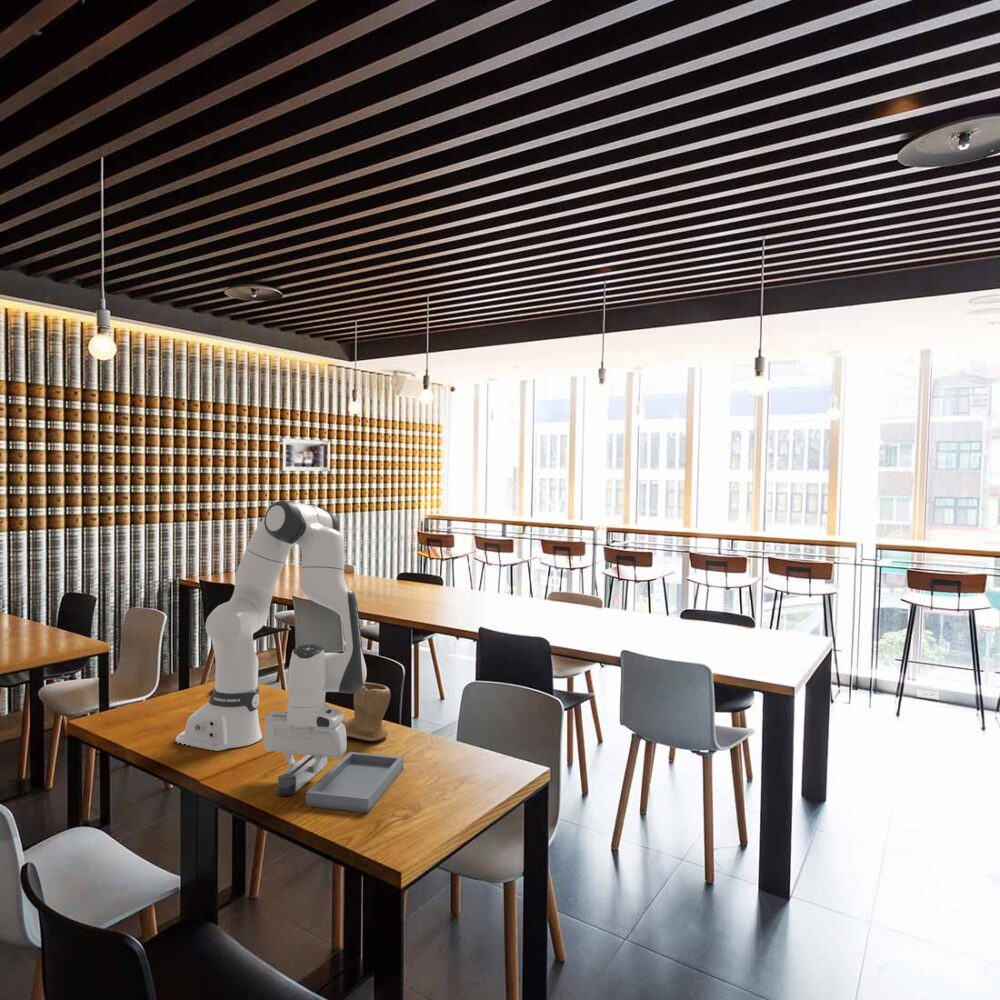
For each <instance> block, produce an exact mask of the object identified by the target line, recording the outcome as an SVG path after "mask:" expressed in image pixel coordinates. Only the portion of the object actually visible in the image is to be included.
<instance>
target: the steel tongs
mask: <svg viewBox="0 0 1000 1000" xmlns="http://www.w3.org/2000/svg"><path fill="white" fill-rule="evenodd" d="M328 758H329V757H324V756H323V758H322V760H321V762H320V763H319V765H318V772H317V773H316V774H315V773H310V766H311V765H312V764H315V762H316V760H315V759H314V755H304V756H303V757H302V758H301V759H300V760H298V761H296V762H297V763H296V764H295V765H293V766H292V767H291V768H290V769H289V768H288V769H287V770H286V771H285V772H283V773H282V774H281V775H279V776H278V778H277V795H278V796H280V797H290V796H294V795H295V794H296V793H297V792H298V791H299V790H300V789H302V788H303V787H304V786H305V785H306V784H307V783H308V782H309V781H311V780H312V778H314V777H315V776H316V775H317V774H318V773H319V772H320V771H321V770H323V769H324V768H325V767H326V766H327V765H328Z"/></svg>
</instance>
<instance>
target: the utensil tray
mask: <svg viewBox="0 0 1000 1000" xmlns="http://www.w3.org/2000/svg"><path fill="white" fill-rule="evenodd" d="M404 760H405V759H404V756H396V755H385V754H375V753H366V752H365V753H364V752H355V751H349V752H348V753H347V754H346V755H344V757H342V758H341V759H340V760H339V761H338V762H337V763H336V764H335V765H334V766H332V768H330V770H329V771H328V772H326V773H325V774H324V775H323V776H322V777H321V778H320V779H319V780H318V781H316V783H314V784H313V785H312V786H311V787H310V788H309V789H308V790H307V791H306V792H305V807H310V808H311V807H312V808H320V809H321V808H322V809H327V810H328V809H329V810H336V811H346V812H347V811H348V812H353V813H354V812H355V813H362V814H363V813H364V814H368V813H370V811H371V810H372V809H373V808H374V806H375V805H376V804H377V802H378V801H379V800H380V799H381V798H382V796H383V795H384V794H385V792H386V791H387V790H388V789H389V787H391V785H392V784H393V782H394V781H395V780H396V779H397V777H398V776H399V775H400V774H401V773H402V771H403V770H404V762H405V761H404Z"/></svg>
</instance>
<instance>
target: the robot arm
mask: <svg viewBox="0 0 1000 1000" xmlns="http://www.w3.org/2000/svg"><path fill="white" fill-rule="evenodd" d="M339 522H340V521H339V520H338V517H337V516H336V515H335V514H334V513H332V512H330V511H329V510H327V509H324V508H320V507H318V506H315V505H311V504H309V503H300V502H294V501H292V500H279V501H278V500H277V501H275V502H274V503H272V504H271V505H269V507H268V508H267V510H266V512H265V515H264V518H263V519H262V520H261V522H259V524H258V525H257V527H256V528H255V531H254V532H253V533H252V535H251V537H250V540H249V542H248V544H247V545H246V548H245V550H244V553H243V555H242V557H241V560H240V563H239V564H238V567H237V569H236V571H235V584H234V588H233V589H234V590H233V593H232V595H231V597H230V599H229V600H228V601H226V602H223V603H222V604H219V605H217V606H216V607H215V608H214V609H213V610H212V611H211V612H210V613H209V615H208V616H207V618H206V621H205V632H206V634H207V636H208V637H209V638H210V640H211V644H212V648H213V651H214V652H213V653H214V657H215V658H214V660H215V679H214V680H215V681H214V682H215V683H214V684H215V685H214V688H212V689H211V690H210V691H209V692H205V698H208V697H209V699H208V701H207V702H206V703H205V704H204V705H202V706H201V707H199V709H197V710H196V711H195V712H193V713H192V714H191V715H190V716H189V717H188V718H187V721H186V723H185V729H184V731H182V732H180V733H179V734H177V736H176V737H175V740H174V741H175V742H177V743H176V744H179V743H181V744H180V745H184V744H186V745H185V746H189V745H190V746H189V747H194V748H199V749H205V750H208V751H209V750H210V751H213V750H214V751H215V752H219V751H224V750H227V749H234V748H240V747H241V748H242V747H246V746H250V745H253V744H255V743H257V742H260V741H261V740H262V738H263V741H262V746H263V748H264V750H265V751H268V752H277V753H285V754H284V757H285V760H286V761H287V762H288V765H289V768H288V769H290V768H291V767H292V766H293V765H295V764H296V763H297V762H298V761H296V760H295V757H294V755H295V754H296V755H297V754H298V755H304V756H306V755H314V759H315V760H316V762H315V764H312V765H311V766H310V773H315V774H316V773H317V772H318V765H319V763H320V762H321V760H322V758H323V756H324V757H328V758H332V759H333V758H334V759H335V758H336V759H339V758H341V757H342V756H343V755H344V754H345V753H346V751H347V749H348V747H347V746H348V745H347V744H348V741H347V737H348V736H346V729H345V726H344V724H343V723H341V722H342V721H344V719H345V714H344V713H345V712H343V711H341V710H339V709H336V708H334V707H331V706H330V705H328V704H326V697H325V693H329V692H330V693H340V694H341V693H342V694H348V695H354V693H355V692H356V691H358V690H359V689H360V688H361V687H362V686H363V685H364V684H365V682H366V680H367V665H366V661H365V657H364V649H363V644H362V643H363V642H362V640H363V639H362V634H361V624H360V615H359V608H358V602H357V598H356V594H355V592H354V590H352V589H350V588H349V587H348V585H347V582H346V580H345V557H346V556H345V546H344V545H345V544H344V537H343V535H342V533H341V532H340V523H339ZM295 545H298V546H299V548H300V549H301V553H302V555H301V557H302V558H301V562H300V563H301V566H300V588H301V591H302V593H303V594H304V595H305V597H307V599H309V600H310V601H312V602H314V603H315V604H318V605H321V606H322V607H325V608H327V609H330V610H332V611H333V612H335V613H337V614H338V616H339V617H340V619H341V621H342V626H343V634H344V643H345V651H343V652H325V650H324V647H322V646H320V645H317V644H311V643H310V644H309V643H308V644H307V643H306V644H302V645H299V646H296V647H295V648H294V649H293V650H292V652H291V657H290V660H289V665H288V670H287V672H288V673H287V687H288V690H289V693H288V698H287V702H286V703H287V704H286V711H277V710H271V711H270V712H268V713H267V714H266V716H265V718H264V719H265V720H264V721H265V722H264V725H265V729H264V735H263V734H262V730H261V726H260V720H259V709H258V708H259V703H260V687H259V686H258V685H259V682H258V681H259V680H258V679H259V658H258V655H257V654H256V651H255V647H254V639H253V637H254V634H255V633H257V632H259V630H261V629H262V628H263V627H264V625H265V624H266V622H267V620H268V619H269V614H270V607H271V603H272V599H273V595H274V591H275V587H276V585H277V583H278V581H279V578H280V575H281V573H282V571H283V568H284V565H285V563H286V561H287V559H288V556H289V554H290V551H291V550H292V548H293V547H294V546H295ZM318 773H319V772H318ZM318 773H317V774H318ZM317 774H316V775H317Z"/></svg>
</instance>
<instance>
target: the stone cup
mask: <svg viewBox="0 0 1000 1000" xmlns="http://www.w3.org/2000/svg"><path fill="white" fill-rule="evenodd" d="M390 699H391V690H390V688H389V687H388V686H387V685H384V684H380V683H374V682H366V681H365V684H364V685H363V686H362V687H361V688H360V689H359V690H358V691H356V692H355V693H353V710H354V713H353V714H354V719H352V720H349V719H348V720H347V719H346V720H343V721H342V722H341V723H343V724H344V726H345V729H346V737H349V738H353V739H357V740H362V741H368V742H376V741H379V740H382V739H384V738H386V737H387V736H388V735H389V731H388V730H387V729H386V728H384V727H383V720H384V719H383V718H384V716H385V714H386V711H387V709H388V706H389V703H390V701H391V700H390Z"/></svg>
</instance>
